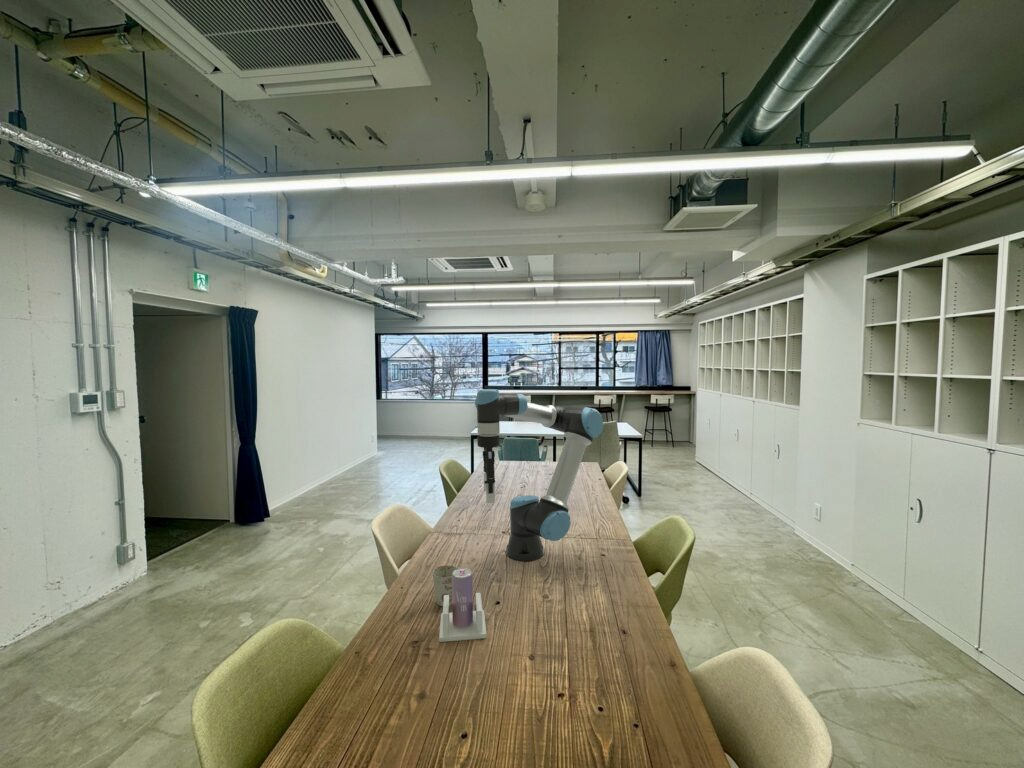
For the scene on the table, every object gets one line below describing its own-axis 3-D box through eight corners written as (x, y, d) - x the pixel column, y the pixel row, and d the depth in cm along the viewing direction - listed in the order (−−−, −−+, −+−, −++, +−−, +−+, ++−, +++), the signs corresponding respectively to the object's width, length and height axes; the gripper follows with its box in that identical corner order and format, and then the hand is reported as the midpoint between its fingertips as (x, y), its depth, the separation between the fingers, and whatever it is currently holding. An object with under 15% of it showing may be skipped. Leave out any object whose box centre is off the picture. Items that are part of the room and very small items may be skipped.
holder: (441, 617, 129) (440, 593, 128) (483, 613, 130) (483, 590, 130) (439, 642, 117) (438, 616, 117) (486, 638, 118) (486, 612, 118)
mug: (434, 610, 132) (433, 578, 132) (430, 590, 144) (430, 561, 144) (460, 606, 135) (460, 575, 134) (455, 587, 147) (454, 558, 146)
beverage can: (473, 616, 127) (472, 567, 126) (472, 628, 121) (471, 577, 120) (453, 617, 126) (452, 567, 126) (451, 629, 120) (450, 577, 120)
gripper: (476, 430, 156) (476, 487, 157) (479, 440, 131) (479, 508, 132) (496, 429, 157) (496, 486, 158) (503, 440, 132) (503, 507, 133)
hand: (489, 496), depth 145 cm, fingers open, 13 cm apart
